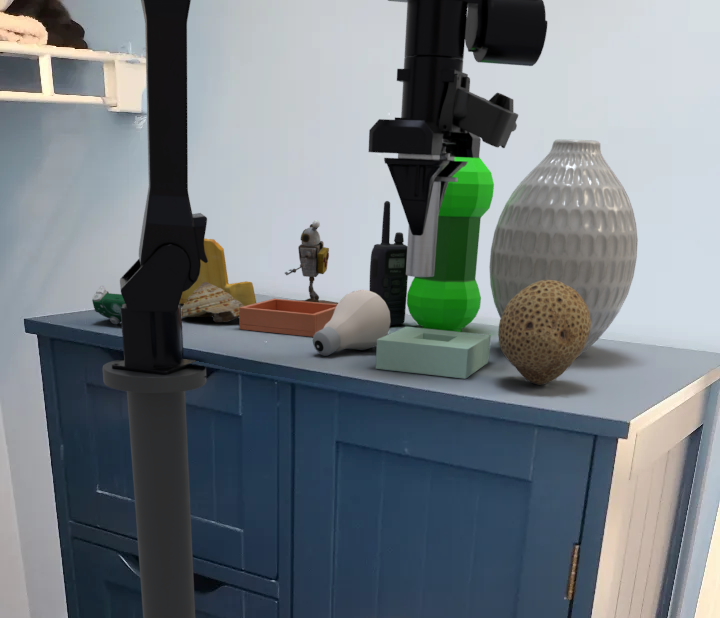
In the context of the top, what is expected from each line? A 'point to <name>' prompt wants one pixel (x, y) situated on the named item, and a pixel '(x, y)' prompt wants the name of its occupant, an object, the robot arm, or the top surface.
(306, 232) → the robot figurine
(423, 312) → the plastic bottle
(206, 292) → the seashell
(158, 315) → the robot arm
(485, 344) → the green square holed block
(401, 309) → the two-way radio
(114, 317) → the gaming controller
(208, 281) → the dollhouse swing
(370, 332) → the light bulb
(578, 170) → the vase
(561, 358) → the natural sponge
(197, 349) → the top surface
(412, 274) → the silver cylinder with crossbar
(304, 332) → the dish
